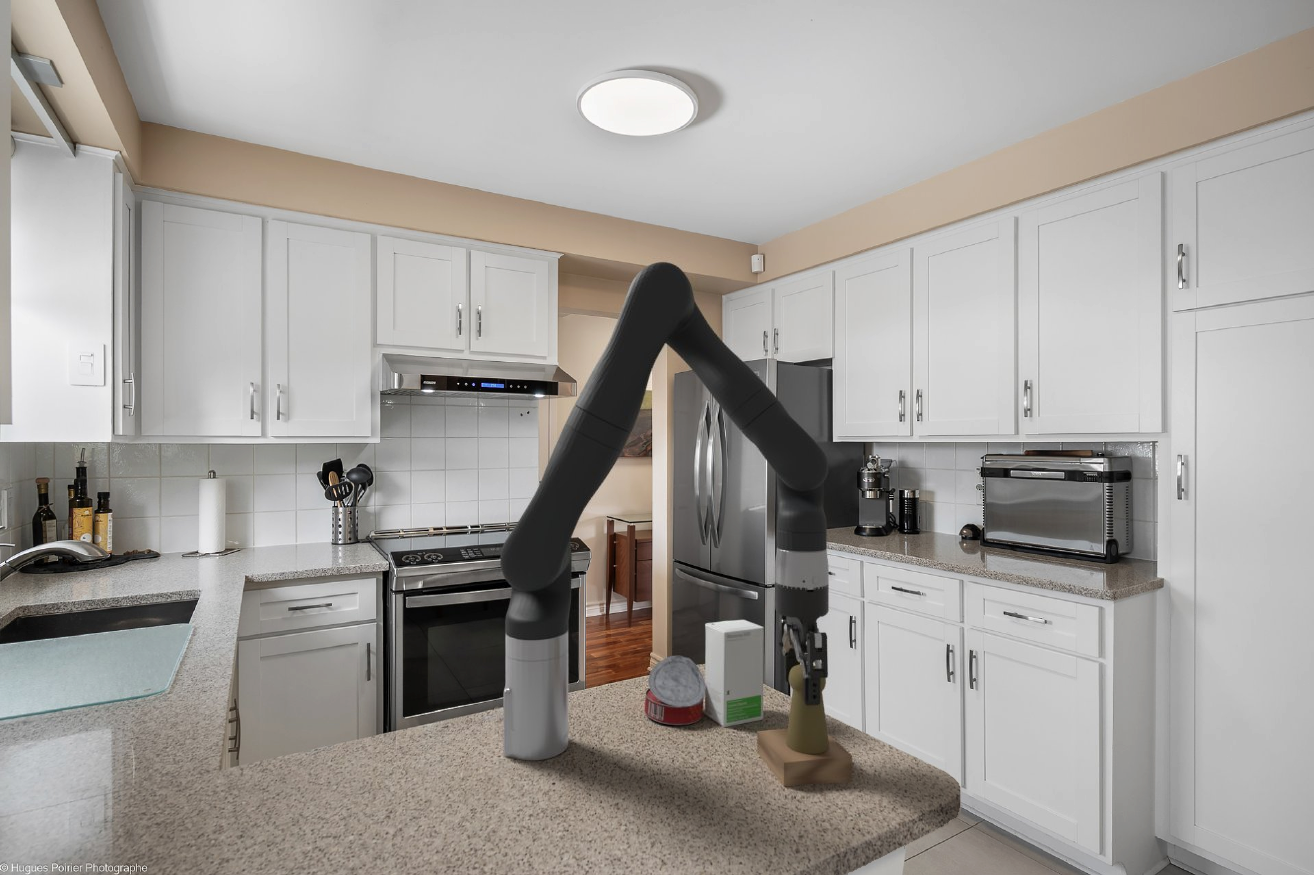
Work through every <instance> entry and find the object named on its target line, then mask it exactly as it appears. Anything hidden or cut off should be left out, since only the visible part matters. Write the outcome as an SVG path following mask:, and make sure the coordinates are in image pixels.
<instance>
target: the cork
mask: <svg viewBox="0 0 1314 875" xmlns="http://www.w3.org/2000/svg"><path fill="white" fill-rule="evenodd" d="M814 669H816V667H815V665H814ZM803 677H804V676H803V671H802V666H801V664H800V665H796V666H794V667H793V668H792V669H791V670H790V673H789V686H790V687H791V689H792V693H791V695H792V696H791V701H790V709H789V717H788V724H787V728H788V732H787V740H786V744H787V746H788V747H789V748H791V749H792V750H794V751H797V752H801V753H806V754H818V753H823V752H825V751H827V750H828V749H829V740H828V734H829V732H828V726H827V719H826V712H825V710H826V709H825V705H824V697H823V691H824V689H825V687H826V685H827V684H826V683H827V678H820V704H819V705H811V706H807V705H806V704H805V703H804V702H803Z"/></svg>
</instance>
